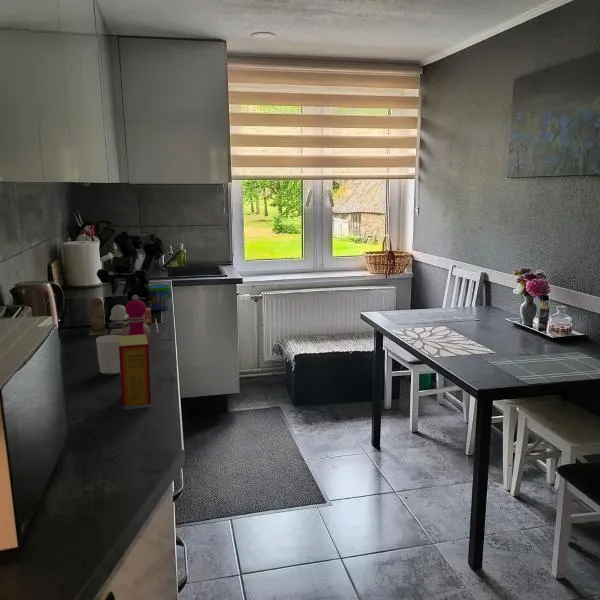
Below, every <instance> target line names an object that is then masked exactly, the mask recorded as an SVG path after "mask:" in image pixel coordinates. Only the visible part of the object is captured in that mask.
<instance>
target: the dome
mask: <svg viewBox="0 0 600 600" xmlns="http://www.w3.org/2000/svg"><path fill="white" fill-rule="evenodd" d="M125 307H126V306H124V305H122V304H116V305H114V306H113V307H112V308H111V311H110V314H111V315H110V316H109V320H110V321H113V322H118V321H128V316H129V315H128V314H127V313H126V310H125Z"/></svg>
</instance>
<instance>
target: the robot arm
mask: <svg viewBox="0 0 600 600" xmlns="http://www.w3.org/2000/svg"><path fill="white" fill-rule="evenodd" d="M113 242H114V244H115V246H116V249H117V250H118V252H119V253H120V254H121V256H113V257H112V261H111V266H113V267H114V271H110V269H109V268H105V269H104V268H100V269H99V268H98V270H97V272H96V276H97V278H98V279H99V282H101V283H102V284H110V287H111V288H110V289H111V294H112V296H113V297H114V296H115V295H116V293H117V290H118V287H119V283H118V280H125V281H126V282H125V285H124V287H123V290H122V296H126V295H127V299H128V302H129V301H131V300H133V299H132V297H133V295H137V296H138V300H141V301H143V302H144V303H145V305H146V308H149V304H148V301H150V300H152V292H151V290H150V288H149V285H150V284H149V283H150V281H151V274H152V273H153V270H154V267H155V265H156V262H157V261H158V260H161V258H162V257H163V255H164V253H165V251H166V249H165V245H164V242H163V241H162V239H160V238H159V237H158V236H157V235H156V233H155V232H150V231H149V232H148V231H147V232H146V231H145V232H142V233H140V234H128V231H125V230H122V231H121V233H118V234H117V235H116V236H114V238H113ZM138 250H143V253H144V257H143V258H144V259H143V261H142V262H141V263H142V264H141V266H140V268H139V269H136V263H137V261H138V260H139V258H140V257H139V252H138ZM134 271H135V272H134Z"/></svg>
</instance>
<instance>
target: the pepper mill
mask: <svg viewBox="0 0 600 600" xmlns="http://www.w3.org/2000/svg"><path fill="white" fill-rule="evenodd" d="M132 299H133V300H131V301H129V300H128V302H127V303H126V304H125V306H124V307H125V310H126V313H127V315H129V316H128V319H127V322H129V323H130V331H129V334H128V335H140V334H146V333H145V331H144V327H143V322H144V320H145V318H144V317H145V316H144V313H145V312H146V305H145V303H144V302H143V301H141V300H138V296H137V295H133V297H132ZM146 336H147V335H146ZM149 339H150V338H149ZM149 339H148V337H147V341H148V348H149V349H150V346H151V344H150V340H149Z"/></svg>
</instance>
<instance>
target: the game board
mask: <svg viewBox="0 0 600 600" xmlns="http://www.w3.org/2000/svg"><path fill="white" fill-rule="evenodd" d="M127 322H128V320H122V321H113V322H109V323H108V327H109V328H111V329H110V331H109V335H117V334H121V331H122V328H123V327H124V326H123V327H122V325H124V324H125V323H127ZM154 322H155V325H156V326H155V328H156V333H157V334H158V333H159V334H160V332H159V327H158V326H159V325H158V322H157V318H155V319H154ZM95 335H96V336H97V335H100V334H91V330H89V333H88V336H95ZM102 335H108V329H106V333H103V334H102Z"/></svg>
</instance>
